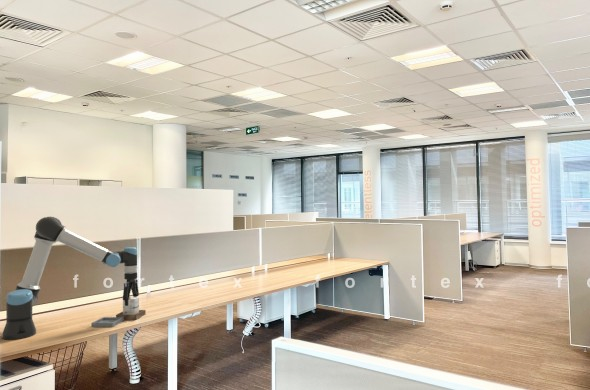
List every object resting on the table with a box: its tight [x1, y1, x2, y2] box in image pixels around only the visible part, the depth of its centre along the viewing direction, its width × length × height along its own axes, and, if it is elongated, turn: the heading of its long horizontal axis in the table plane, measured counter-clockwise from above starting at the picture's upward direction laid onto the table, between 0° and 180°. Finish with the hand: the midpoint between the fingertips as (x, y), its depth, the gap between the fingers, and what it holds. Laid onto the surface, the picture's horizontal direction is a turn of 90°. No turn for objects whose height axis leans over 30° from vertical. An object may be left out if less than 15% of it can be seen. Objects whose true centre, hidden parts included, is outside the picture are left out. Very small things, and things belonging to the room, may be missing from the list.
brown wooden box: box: [115, 309, 146, 321], centre depth 260 cm, size 13×13×3 cm
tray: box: [91, 316, 125, 328], centre depth 246 cm, size 13×13×2 cm
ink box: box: [122, 296, 140, 315], centre depth 260 cm, size 9×5×12 cm, turn 74°
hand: (131, 308), depth 260 cm, fingers open, 9 cm apart
